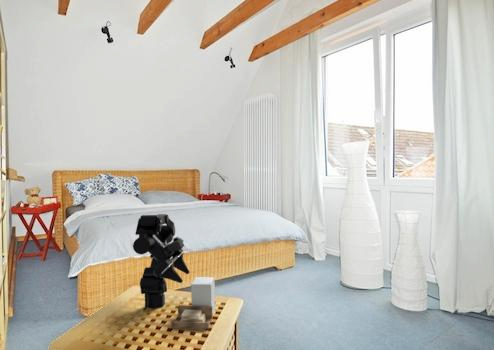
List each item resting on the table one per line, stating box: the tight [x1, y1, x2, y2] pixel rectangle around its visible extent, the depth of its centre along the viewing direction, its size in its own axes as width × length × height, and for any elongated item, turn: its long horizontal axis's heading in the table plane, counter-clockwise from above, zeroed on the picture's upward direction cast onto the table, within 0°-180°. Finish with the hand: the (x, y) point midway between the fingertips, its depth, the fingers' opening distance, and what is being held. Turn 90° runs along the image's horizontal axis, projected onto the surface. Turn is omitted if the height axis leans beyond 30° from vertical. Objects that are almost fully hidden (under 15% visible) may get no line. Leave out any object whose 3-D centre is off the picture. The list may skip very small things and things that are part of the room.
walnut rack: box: [171, 304, 213, 330], centre depth 113 cm, size 12×8×5 cm, turn 85°
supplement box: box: [190, 276, 216, 316], centre depth 121 cm, size 7×7×13 cm
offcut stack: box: [180, 310, 206, 322], centre depth 112 cm, size 8×5×4 cm, turn 85°
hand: (185, 277), depth 120 cm, fingers open, 9 cm apart
